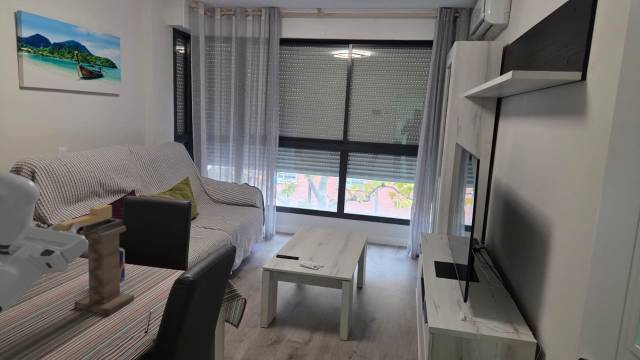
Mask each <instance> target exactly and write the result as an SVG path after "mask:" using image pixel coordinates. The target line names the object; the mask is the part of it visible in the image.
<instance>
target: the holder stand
mask: <svg viewBox="0 0 640 360" xmlns="http://www.w3.org/2000/svg"><path fill="white" fill-rule="evenodd" d="M126 231H127V227H126V225H124V219H117V218H113V217H111V218H108V219H105V220H102V221H98V222H95V223H92V224H89V225H85V226H82V230H81V231H79V235H83V236H85V238H87V241H88V247H87V252H88V253H87V254H88V255H87V257H88V259H87V260H88V263H87V264H88V294H86V295H85V296H83V297H81V298H79V299H77V300H76V301H74V308H76V309H79V310H80V309H81V310H84V311H89V312H93V313H94V312H95V313H99V314H103V315H106V316H107V315H108V316H112V315H113V314H115V313H116V312H118V311H120V310H122V309H123V308H124V307H126V306H128V305H129V304H131V303H132V302H134V301H135V295H134V294H129V293H124V292H121V290H120V289H121V285H120V284H121V283H120V282H121V281H120V261H119V248H120V233H123V232H126Z"/></svg>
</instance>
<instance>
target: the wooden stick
mask: <svg viewBox="0 0 640 360" xmlns="http://www.w3.org/2000/svg"><path fill="white" fill-rule="evenodd" d="M108 218H113V205H111V204H100V205H97V206H93V207H90V208H89V214H86V215H81V216H78V217H76V218H75V217H74V218H72V219H68V220H63V221H64V222H61V223H58V222H57V223H56V224H57V230H58V231H61V232H67V231H70V229H71V228H70V225H71V224H72V223H78V224H79V225H80V227H79V228H81V227H82V228H83V226H85V225H89V224H92V223H95V222H98V221H102V220H105V219H108Z"/></svg>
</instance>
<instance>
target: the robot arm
mask: <svg viewBox="0 0 640 360" xmlns="http://www.w3.org/2000/svg"><path fill="white" fill-rule="evenodd" d="M40 193H41V192H40V189H39V187H38V186H37V185H36V183H35V182H34V181H33V180H31V179H30V178H27V177H24V176H22V175H18V174H17V173H16V174H15V173H14V172H13V173H12V172H9V171H8V172H7V171H5V172H4V171H3V172H0V314H2V313H4V312H5V311H7V310H8V309H10V308H11V307H12V306H13V305H15V304H16V303H17V302H19V300H20V299H21V298H22V297H23V296H25V294H26V293H27V292H28V291H29V290H30V288H31V286H32V285H33V283H34V282H35V281H37V280H39V279H40V278H41V277H42V276H43V275H48V274H55V273H63V272H64V273H65V272H66V271H67V270H68V269H69V264H72V263H73V262H75V261H76V260H77V259H78V258H79V257H81V255H83V253H85V251H86V250H88V238H87V237H85V236H83V235H80V234H77V231H78V230H79V229H80V228H81V227H80V225H79V224H78V223H72V224H71V225H70V228H71V229H70V230H69V231H66V232H65V231H60V230H57V223H61V222H64V221H65V220H60V221H58V222H57V223H55V224H53V225H51V226H49V227H48V228H42V227H37V226H34V213H35V207H36V204H37V202H38V200H39V199H40V196H41V194H40Z"/></svg>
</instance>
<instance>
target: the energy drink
mask: <svg viewBox="0 0 640 360" xmlns="http://www.w3.org/2000/svg"><path fill="white" fill-rule="evenodd" d="M125 257H126V256H125V249H124V248H123V247H119V261H120V282H123V281H124V280H125V278H126V276H125V275H126V272H125V271H126V267H125V264H126V262H125V261H126V260H125V259H126V258H125Z"/></svg>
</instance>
